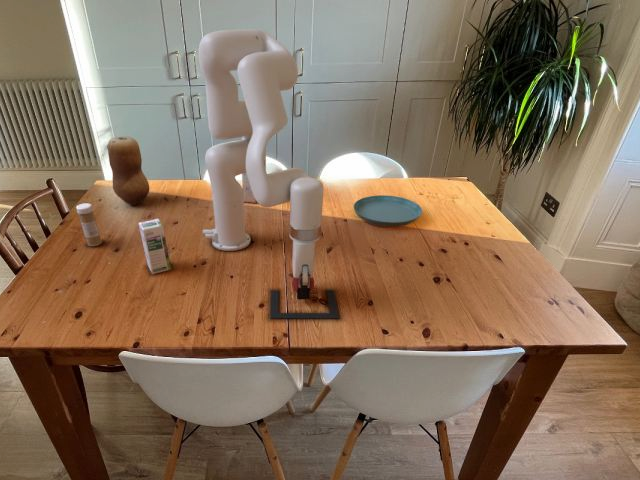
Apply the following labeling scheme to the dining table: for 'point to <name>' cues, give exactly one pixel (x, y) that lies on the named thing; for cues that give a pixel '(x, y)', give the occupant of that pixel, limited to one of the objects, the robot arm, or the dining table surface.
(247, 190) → the cracker box
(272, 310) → the bay
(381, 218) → the saucer
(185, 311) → the dining table surface
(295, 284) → the onion
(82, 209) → the sprinkles bottle
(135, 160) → the butternut squash
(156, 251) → the syrup box
